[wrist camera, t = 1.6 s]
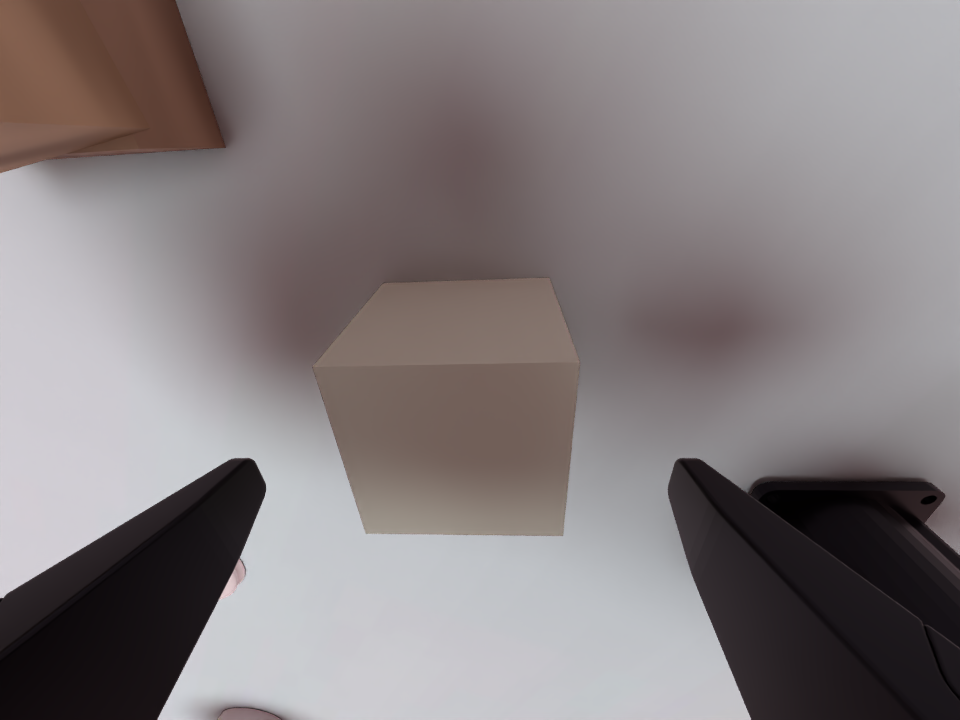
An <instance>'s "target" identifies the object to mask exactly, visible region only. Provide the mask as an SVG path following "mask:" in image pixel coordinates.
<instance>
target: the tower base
mask: <svg viewBox="0 0 960 720" xmlns="http://www.w3.org/2000/svg"><path fill="white" fill-rule="evenodd" d="M80 2H81V4H82V6H83V7H84V9H85V11H86V13H87V15H88V16H89V18H90V20H91V22H92V24H93V25H94V27H95V29H96V31H97V33H98V34H99V36H100V38H101V40H102V42H103V43H104V45H105V47H106V49H107V51H108V52H109V54H110V56H111V58H112V60H113V61H114V63H115V65H116V67H117V69H118V70H119V72H120V74H121V76H122V78H123V79H124V81H125V83H126V85H127V87H128V88H129V90H130V92H131V94H132V96H133V97H134V99H135V101H136V103H137V105H138V106H139V108H140V110H141V112H142V114H143V115H144V117H145V119H146V121H147V123H148V124H149V126H150V128H151V129H147V130H144V131H141V132H137V133H134V134H131V135H127V136H124V137H120V138H117V139H114V140H110V141H107V142H104V143H100V144H97V145H93V146H90V147H87V148H83V149H80V150H77V151H73V152H70V153H66V154H63V155H60V156H56V157H53V158H50V159H62V158H77V157H92V156H107V155H122V154H137V153H152V152H167V151H182V150H197V149H212V148H226V147H225V144H224V141H223V138H222V135H221V132H220V129H219V126H218V124H217V121H216V118H215V115H214V112H213V109H212V106H211V103H210V100H209V97H208V94H207V92H206V89H205V86H204V83H203V80H202V77H201V74H200V71H199V68H198V65H197V62H196V60H195V57H194V54H193V51H192V48H191V45H190V42H189V39H188V36H187V33H186V30H185V27H184V25H183V22H182V19H181V16H180V13H179V10H178V7H177V4H176V1H175V0H80ZM46 160H47V159H46Z"/></svg>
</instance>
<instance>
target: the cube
mask: <svg viewBox="0 0 960 720" xmlns="http://www.w3.org/2000/svg"><path fill="white" fill-rule="evenodd" d="M579 367H580V361H579V358H578V355H577V352H576V350H575V347H574V344H573V341H572V339H571V336H570V333H569V330H568V328H567V325H566V322H565V319H564V317H563V314H562V311H561V308H560V306H559V303H558V300H557V297H556V295H555V292H554V289H553V286H552V284H551V281H550V278H519V279H489V280H459V281H429V282H399V283H383V284H382V285H381V286H380V287H379V289H378V290H377V291H376V292H375V293H374V294H373V296H372V297H371V298H370V299H369V300H368V302H367V303H366V304H365V305H364V306H363V307H362V309H361V310H360V311H359V312H358V313H357V315H356V316H355V317H354V318H353V319H352V321H351V322H350V323H349V324H348V325H347V326H346V328H345V329H344V330H343V331H342V332H341V334H340V335H339V336H338V337H337V338H336V339H335V341H334V342H333V343H332V344H331V345H330V347H329V348H328V349H327V350H326V351H325V353H324V354H323V355H322V356H321V357H320V358H319V360H318V361H317V362H316V363H315V364H314V366H313V371H314V374H315V377H316V380H317V383H318V386H319V389H320V392H321V395H322V399H323V402H324V405H325V408H326V411H327V414H328V417H329V420H330V424H331V427H332V430H333V433H334V436H335V439H336V442H337V445H338V448H339V452H340V455H341V458H342V461H343V464H344V467H345V470H346V473H347V477H348V480H349V483H350V486H351V489H352V492H353V495H354V498H355V501H356V505H357V508H358V511H359V514H360V517H361V520H362V523H363V526H364V529H365V533H366V534H444V535H526V536H563V530H564V520H565V510H566V500H567V490H568V479H569V469H570V459H571V449H572V438H573V428H574V418H575V408H576V398H577V387H578V377H579Z"/></svg>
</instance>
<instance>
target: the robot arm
mask: <svg viewBox="0 0 960 720" xmlns="http://www.w3.org/2000/svg"><path fill="white" fill-rule="evenodd" d="M265 493H266V484H265V481H264V479H263V477H262V475H261V473H260V471H259V469H258V467H257V464H256V463H255V461H254V460H252V459H250V458H234V459H230V460H228V461H227V462H225V463H223V464H222V465H220V466H218V467H217V468H215V469H213V470H212V471H210V472H209V473H207V474H205V475H204V476H202V477H200V478H199V479H197V480H195V481H194V482H192V483H190V484H189V485H187V486H185V487H184V488H182V489H180V490H179V491H177V492H175V493H174V494H172V495H170V496H169V497H167V498H165V499H164V500H162V501H160V502H159V503H157V504H155V505H154V506H152V507H150V508H149V509H147V510H145V511H144V512H142V513H140V514H139V515H137V516H135V517H134V518H132V519H130V520H129V521H127V522H125V523H124V524H122V525H120V526H119V527H117V528H115V529H114V530H112V531H111V532H109V533H107V534H106V535H104V536H102V537H101V538H99V539H97V540H96V541H94V542H92V543H91V544H89V545H87V546H86V547H84V548H82V549H81V550H79V551H77V552H76V553H74V554H72V555H71V556H69V557H67V558H66V559H64V560H62V561H61V562H59V563H57V564H56V565H54V566H52V567H51V568H49V569H47V570H46V571H44V572H42V573H41V574H39V575H37V576H36V577H34V578H32V579H31V580H29V581H27V582H26V583H24V584H22V585H21V586H19V587H17V588H16V589H14V590H13V591H11V592H9V593H8V594H6V595H5V597H4V598H0V720H157V719H158V717H159V715H160V713H161V711H162V709H163V707H164V705H165V703H166V701H167V699H168V697H169V696H170V694H171V692H172V690H173V688H174V686H175V684H176V682H177V680H178V678H179V676H180V674H181V672H182V670H183V668H184V666H185V664H186V662H187V661H188V659H189V657H190V655H191V653H192V651H193V649H194V647H195V645H196V643H197V641H198V639H199V637H200V635H201V633H202V631H203V629H204V628H205V626H206V624H207V622H208V620H209V618H210V616H211V614H212V612H213V610H214V608H215V606H216V604H217V602H218V600H219V598H220V596H221V594H222V593H223V591H224V589H225V587H226V585H227V583H228V581H229V579H230V577H231V575H232V573H233V571H234V569H235V567H236V565H237V563H238V560H239V558H240V556H241V553H242V551H243V549H244V546H245V544H246V541H247V539H248V536H249V534H250V531H251V529H252V526H253V524H254V521H255V519H256V516H257V514H258V511H259V509H260V506H261V504H262V502H263V499H264V497H265ZM668 496H669V500H670V503H671V507H672V510H673V514H674V517H675V520H676V524H677V527H678V531H679V534H680V537H681V541H682V544H683V547H684V551H685V554H686V558H687V561H688V564H689V567H690V570H691V573H692V576H693V579H694V581H695V584H696V586H697V589H698V591H699V594H700V596H701V599H702V601H703V603H704V606H705V608H706V611H707V613H708V616H709V618H710V620H711V623H712V625H713V628H714V630H715V633H716V635H717V637H718V640H719V642H720V645H721V647H722V650H723V652H724V654H725V657H726V659H727V662H728V664H729V667H730V669H731V671H732V674H733V676H734V679H735V681H736V684H737V686H738V688H739V691H740V693H741V696H742V698H743V701H744V703H745V705H746V708H747V710H748V713H749V715H750V718H751V720H960V555H959V554H958V553H956V552H955V551H954V550H953V549H952V548H951V547H950V546H949V545H948V544H946V543H945V542H944V541H943V540H942V539H941V538H940V537H939V536H937V535H936V534H935V533H934V532H933V531H932V530H931V529H930V528H929V527H927V526H926V525H925V524H924V523H925V521H926V520H927V519H928V518H929V517H930V515H931V514H932V513H933V512H934V511H935V509H936V508H937V507H938V506H939V505H940V504H941V502H942V501H943V500H944V498H945V494H944V493H943V492H942V491H941V490H939V489H938V488H937V487H935V486H934V485H933V484H931V483H928V482H765V483H763V484H760V485H758V486H757V487H756V488H755V489H754V490H753V492H752V495H751V496H750V495H749V494H747V493H746V492H745V491H743V490H742V489H741V488H739V487H738V486H737V485H735V484H734V483H732V482H731V481H730V480H728V479H727V478H726V477H724V476H723V475H721V474H720V473H719V472H717V471H716V470H715V469H713V468H712V467H710V466H709V465H708V464H706V463H705V462H704V461H702V460H700V459H697V458H680V459H678V460H676V462H675V464H674V467H673V471H672V474H671V478H670V481H669V485H668Z"/></svg>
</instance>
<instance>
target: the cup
mask: <svg viewBox="0 0 960 720" xmlns="http://www.w3.org/2000/svg"><path fill="white" fill-rule="evenodd" d="M217 720H281V719H280V718H278V717H276V716H275V715H272V714H270V713H267V712H264V711H260V710H256V709H249V708H231V709H227V710H225V711H223V713H222V714H221V715H220V716H219V718H218V719H217Z"/></svg>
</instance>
